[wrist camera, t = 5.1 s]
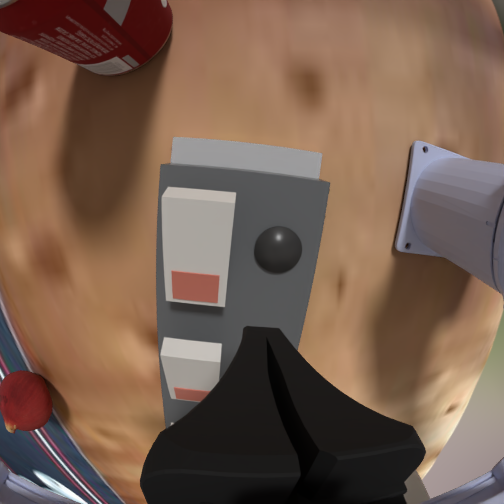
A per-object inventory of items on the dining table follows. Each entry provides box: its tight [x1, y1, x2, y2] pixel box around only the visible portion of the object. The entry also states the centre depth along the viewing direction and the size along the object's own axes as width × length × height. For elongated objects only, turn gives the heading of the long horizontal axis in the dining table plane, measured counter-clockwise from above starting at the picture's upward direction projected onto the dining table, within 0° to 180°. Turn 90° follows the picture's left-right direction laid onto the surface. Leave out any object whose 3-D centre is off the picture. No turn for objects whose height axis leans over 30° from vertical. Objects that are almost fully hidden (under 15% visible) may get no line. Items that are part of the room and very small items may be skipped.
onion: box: [0, 370, 52, 433], centre depth 19 cm, size 6×6×8 cm
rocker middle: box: [160, 337, 222, 402], centre depth 17 cm, size 3×6×1 cm, turn 173°
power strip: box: [156, 137, 330, 428], centre depth 20 cm, size 9×27×4 cm, turn 173°
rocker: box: [162, 187, 236, 307], centre depth 15 cm, size 3×6×1 cm, turn 173°
